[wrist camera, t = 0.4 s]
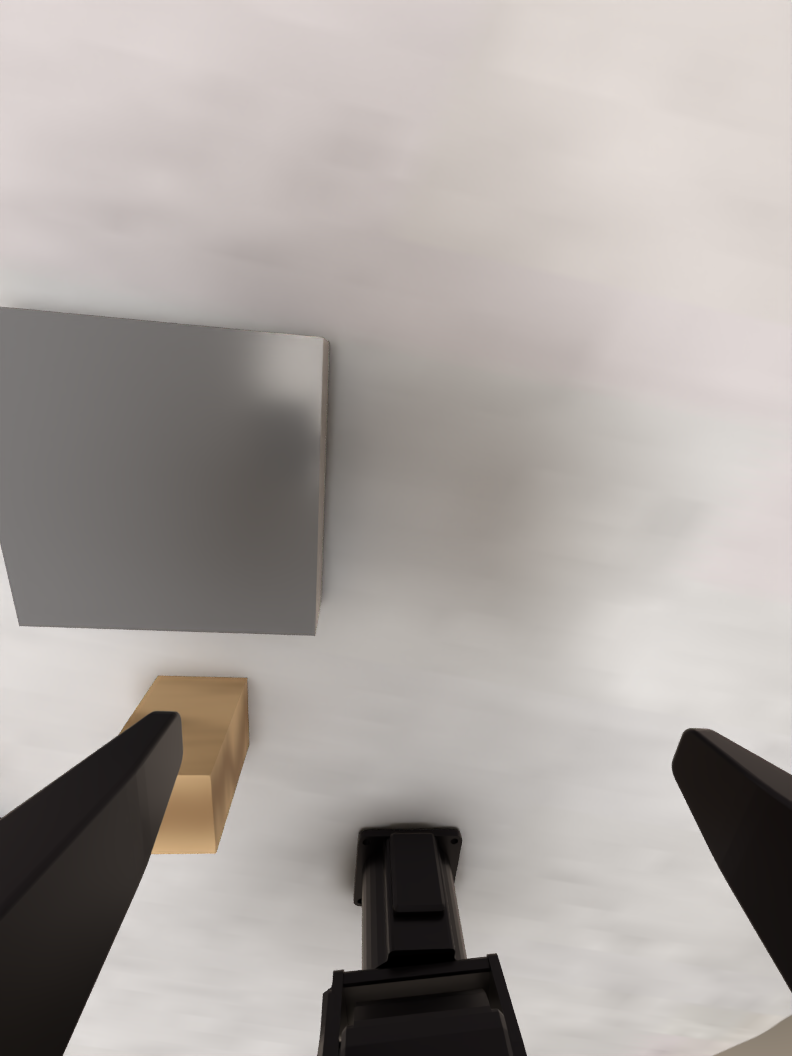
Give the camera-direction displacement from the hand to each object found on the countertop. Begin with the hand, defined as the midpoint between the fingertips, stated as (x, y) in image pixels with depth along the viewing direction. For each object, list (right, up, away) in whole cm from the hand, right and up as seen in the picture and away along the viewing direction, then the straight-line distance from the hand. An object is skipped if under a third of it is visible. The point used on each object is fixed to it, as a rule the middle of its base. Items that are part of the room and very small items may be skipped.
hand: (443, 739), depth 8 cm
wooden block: (-11, -6, +16) cm, 21 cm away
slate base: (-10, +6, +12) cm, 17 cm away
